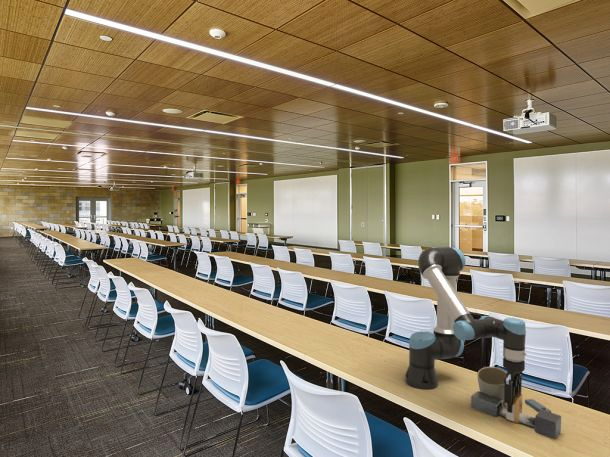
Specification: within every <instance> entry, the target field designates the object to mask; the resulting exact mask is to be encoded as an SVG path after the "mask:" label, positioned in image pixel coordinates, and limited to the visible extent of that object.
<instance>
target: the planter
mask: <svg viewBox="0 0 610 457" xmlns="http://www.w3.org/2000/svg"><path fill="white" fill-rule="evenodd" d="M507 372H508V371H507V370H504V369H502V368H500V367H497V366H496V367H495V366H485V367H482V368H480V369H479V370H478V372H477V383H478V388H479V391H480V392H483V393H485V394H487V395H490V396H495V397H498V398H501V399H503V403H504V378H506V379H507V377H506V374H507Z"/></svg>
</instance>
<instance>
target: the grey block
mask: <svg viewBox="0 0 610 457" xmlns="http://www.w3.org/2000/svg"><path fill="white" fill-rule="evenodd" d="M470 398H471V400H470V408H471V409H472V410H475V411H477V412H480V413H483V414H485V415H489V416H491V417H494V418H498V414H497V406H498V405H499V406H502V407H504V402H503V399H501V398H498V397H495V396H490V395H487V394H485V393H483V392H480V390H477V391H475V392H474V393H473V394H471V396H470Z"/></svg>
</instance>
